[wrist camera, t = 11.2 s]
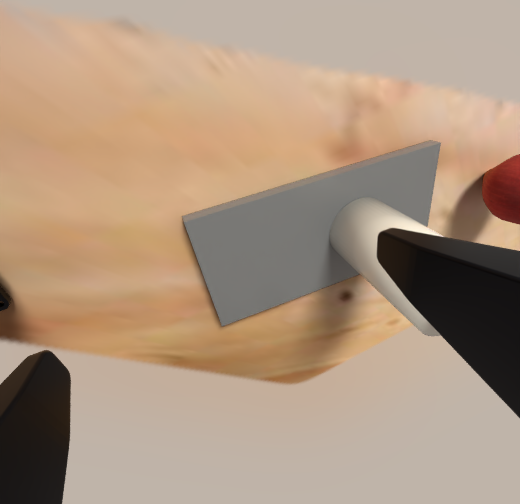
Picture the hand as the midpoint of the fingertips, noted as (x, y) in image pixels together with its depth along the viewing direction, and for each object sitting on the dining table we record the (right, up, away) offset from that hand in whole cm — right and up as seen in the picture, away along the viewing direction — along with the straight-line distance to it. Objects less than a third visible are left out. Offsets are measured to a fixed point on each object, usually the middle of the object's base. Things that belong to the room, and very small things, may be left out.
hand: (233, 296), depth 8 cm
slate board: (+6, +3, +17) cm, 18 cm away
